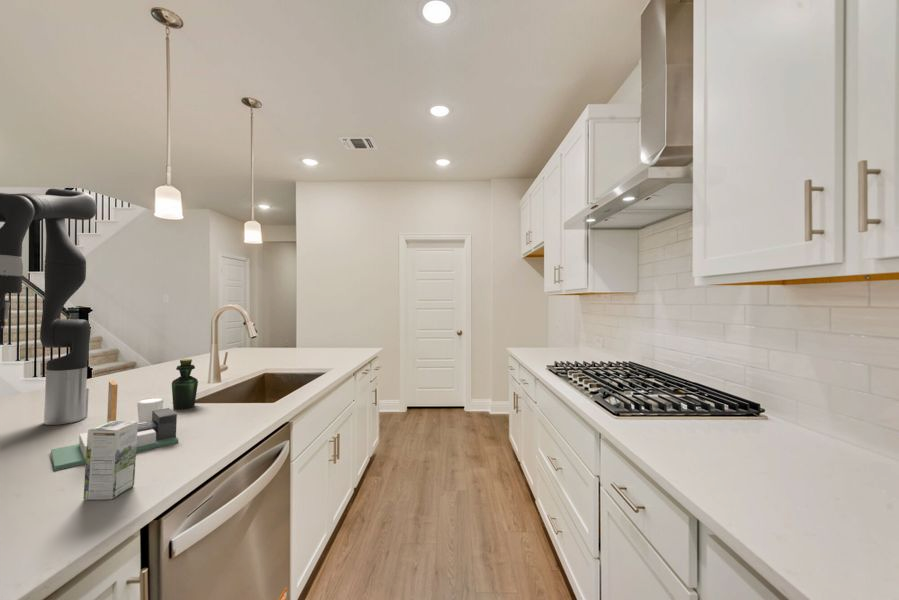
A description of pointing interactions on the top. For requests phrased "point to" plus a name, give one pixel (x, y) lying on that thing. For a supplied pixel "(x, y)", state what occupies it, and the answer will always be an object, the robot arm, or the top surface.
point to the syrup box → (110, 460)
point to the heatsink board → (77, 458)
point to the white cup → (148, 408)
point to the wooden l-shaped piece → (113, 407)
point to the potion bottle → (184, 386)
